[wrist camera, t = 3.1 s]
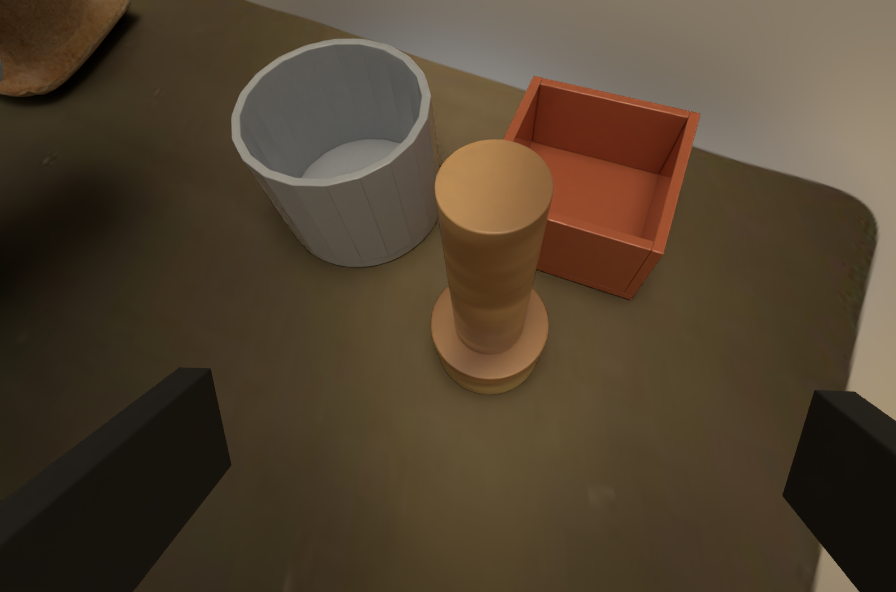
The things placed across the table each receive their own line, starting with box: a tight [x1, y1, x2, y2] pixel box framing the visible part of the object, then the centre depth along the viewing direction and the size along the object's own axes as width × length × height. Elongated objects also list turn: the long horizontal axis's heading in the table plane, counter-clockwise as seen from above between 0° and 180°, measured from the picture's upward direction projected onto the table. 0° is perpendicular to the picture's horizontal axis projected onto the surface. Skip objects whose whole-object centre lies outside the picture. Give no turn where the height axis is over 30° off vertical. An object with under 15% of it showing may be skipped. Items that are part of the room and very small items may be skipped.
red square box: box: [503, 76, 700, 300], centre depth 28 cm, size 10×10×6 cm
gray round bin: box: [231, 39, 440, 267], centre depth 29 cm, size 11×11×8 cm
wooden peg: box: [431, 140, 554, 395], centre depth 20 cm, size 6×6×15 cm
